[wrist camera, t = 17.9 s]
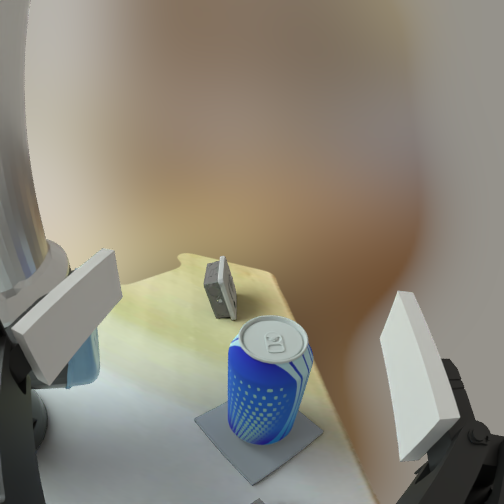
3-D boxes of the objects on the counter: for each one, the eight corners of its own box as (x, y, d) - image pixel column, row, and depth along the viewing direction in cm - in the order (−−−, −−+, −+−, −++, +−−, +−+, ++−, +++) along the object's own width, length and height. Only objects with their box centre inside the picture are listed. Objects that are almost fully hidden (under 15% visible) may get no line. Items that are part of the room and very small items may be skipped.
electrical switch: (236, 322, 54) (232, 279, 50) (208, 323, 54) (202, 280, 50) (236, 293, 63) (233, 253, 59) (211, 294, 63) (207, 255, 59)
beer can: (214, 427, 33) (209, 342, 26) (251, 389, 40) (259, 299, 33) (270, 460, 30) (292, 384, 22) (303, 415, 36) (330, 329, 29)
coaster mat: (252, 485, 27) (252, 484, 26) (194, 420, 35) (194, 418, 35) (322, 433, 34) (323, 431, 33) (263, 382, 42) (263, 380, 42)
